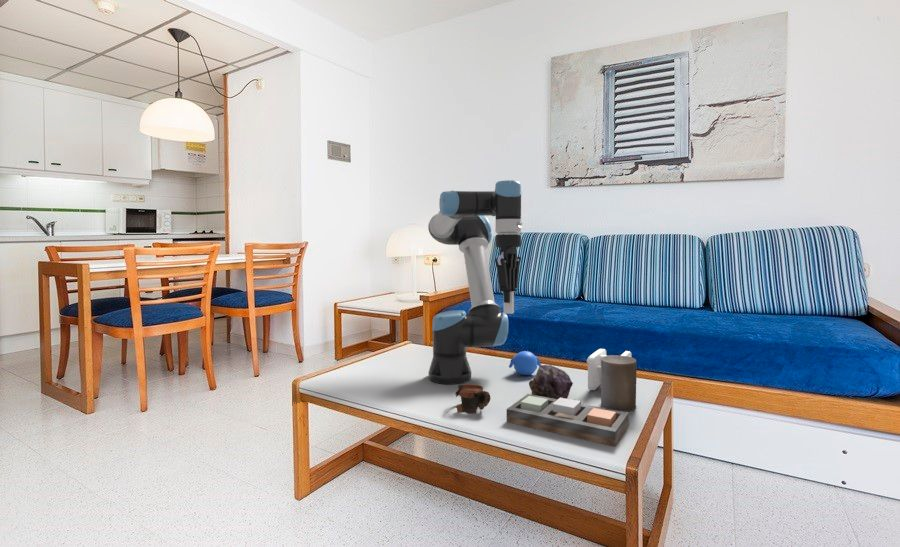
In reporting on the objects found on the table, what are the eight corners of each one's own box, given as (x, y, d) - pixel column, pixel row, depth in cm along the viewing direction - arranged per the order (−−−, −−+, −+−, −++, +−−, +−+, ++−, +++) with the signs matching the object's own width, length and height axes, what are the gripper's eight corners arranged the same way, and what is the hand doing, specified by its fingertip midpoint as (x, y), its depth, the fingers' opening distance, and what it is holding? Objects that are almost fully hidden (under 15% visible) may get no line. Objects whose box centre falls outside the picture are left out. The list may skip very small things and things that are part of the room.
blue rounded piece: (535, 368, 174) (535, 345, 173) (545, 377, 162) (545, 353, 161) (503, 369, 172) (503, 347, 172) (511, 379, 160) (511, 355, 160)
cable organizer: (620, 398, 140) (621, 360, 139) (585, 392, 146) (586, 356, 145) (631, 385, 152) (632, 350, 151) (599, 380, 158) (599, 346, 157)
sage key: (520, 409, 125) (520, 401, 125) (529, 402, 130) (529, 395, 130) (540, 413, 122) (540, 405, 122) (548, 406, 127) (548, 399, 127)
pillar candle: (643, 406, 133) (643, 355, 132) (622, 414, 127) (623, 360, 126) (613, 397, 141) (614, 349, 139) (593, 404, 135) (593, 354, 134)
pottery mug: (446, 413, 131) (449, 384, 135) (466, 418, 138) (468, 390, 141) (481, 411, 124) (482, 380, 128) (500, 417, 131) (501, 387, 134)
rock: (558, 409, 135) (577, 399, 142) (561, 381, 133) (581, 372, 140) (524, 393, 144) (544, 385, 151) (527, 366, 142) (547, 359, 149)
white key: (552, 411, 120) (552, 403, 120) (560, 404, 125) (560, 397, 125) (573, 415, 117) (573, 407, 117) (580, 408, 122) (580, 401, 122)
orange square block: (587, 422, 115) (587, 414, 115) (593, 415, 120) (593, 407, 120) (610, 427, 112) (610, 419, 112) (615, 419, 117) (616, 411, 117)
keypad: (506, 421, 123) (506, 409, 123) (527, 405, 135) (527, 393, 135) (615, 446, 108) (615, 431, 108) (628, 425, 119) (628, 412, 119)
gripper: (510, 233, 129) (510, 317, 131) (529, 233, 140) (529, 311, 142) (486, 234, 133) (487, 315, 135) (506, 234, 144) (507, 309, 146)
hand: (508, 313), depth 138 cm, fingers closed
